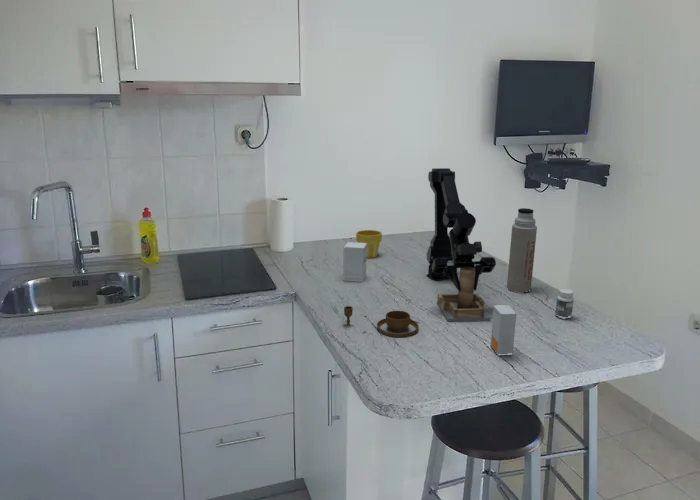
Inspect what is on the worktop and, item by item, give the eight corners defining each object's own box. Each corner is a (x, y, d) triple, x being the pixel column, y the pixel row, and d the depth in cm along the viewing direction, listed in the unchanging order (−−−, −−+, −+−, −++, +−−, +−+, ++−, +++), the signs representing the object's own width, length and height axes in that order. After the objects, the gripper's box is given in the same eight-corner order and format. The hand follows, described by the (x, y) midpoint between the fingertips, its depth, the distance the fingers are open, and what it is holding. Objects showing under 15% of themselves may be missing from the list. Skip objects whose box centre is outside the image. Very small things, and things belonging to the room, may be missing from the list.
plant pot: (357, 251, 243) (357, 228, 240) (382, 252, 242) (382, 229, 239) (354, 258, 233) (354, 235, 231) (380, 260, 232) (380, 236, 229)
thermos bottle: (535, 290, 199) (543, 210, 191) (518, 294, 195) (525, 212, 188) (519, 283, 206) (526, 206, 198) (501, 287, 202) (508, 208, 194)
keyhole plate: (436, 304, 186) (437, 293, 185) (476, 303, 187) (477, 292, 186) (447, 321, 172) (448, 310, 171) (490, 320, 173) (491, 309, 172)
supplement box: (363, 282, 206) (363, 248, 202) (342, 281, 207) (342, 246, 204) (366, 276, 213) (367, 242, 209) (346, 274, 214) (347, 241, 211)
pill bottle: (551, 315, 178) (554, 289, 176) (564, 313, 180) (567, 287, 178) (562, 320, 174) (565, 294, 172) (574, 318, 176) (578, 292, 173)
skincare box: (489, 346, 157) (493, 305, 153) (505, 346, 157) (508, 304, 154) (497, 356, 151) (500, 313, 147) (513, 356, 151) (517, 313, 148)
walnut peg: (459, 306, 180) (462, 266, 177) (473, 308, 178) (476, 268, 175) (455, 311, 176) (458, 270, 173) (470, 313, 174) (473, 272, 171)
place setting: (396, 346, 157) (396, 326, 156) (340, 327, 170) (340, 308, 168) (431, 327, 170) (432, 308, 169) (376, 310, 182) (377, 292, 181)
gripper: (435, 232, 174) (442, 279, 166) (496, 231, 175) (505, 277, 168) (428, 250, 184) (434, 295, 176) (486, 249, 185) (495, 294, 178)
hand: (467, 290), depth 174 cm, fingers closed on walnut peg, 4 cm apart
